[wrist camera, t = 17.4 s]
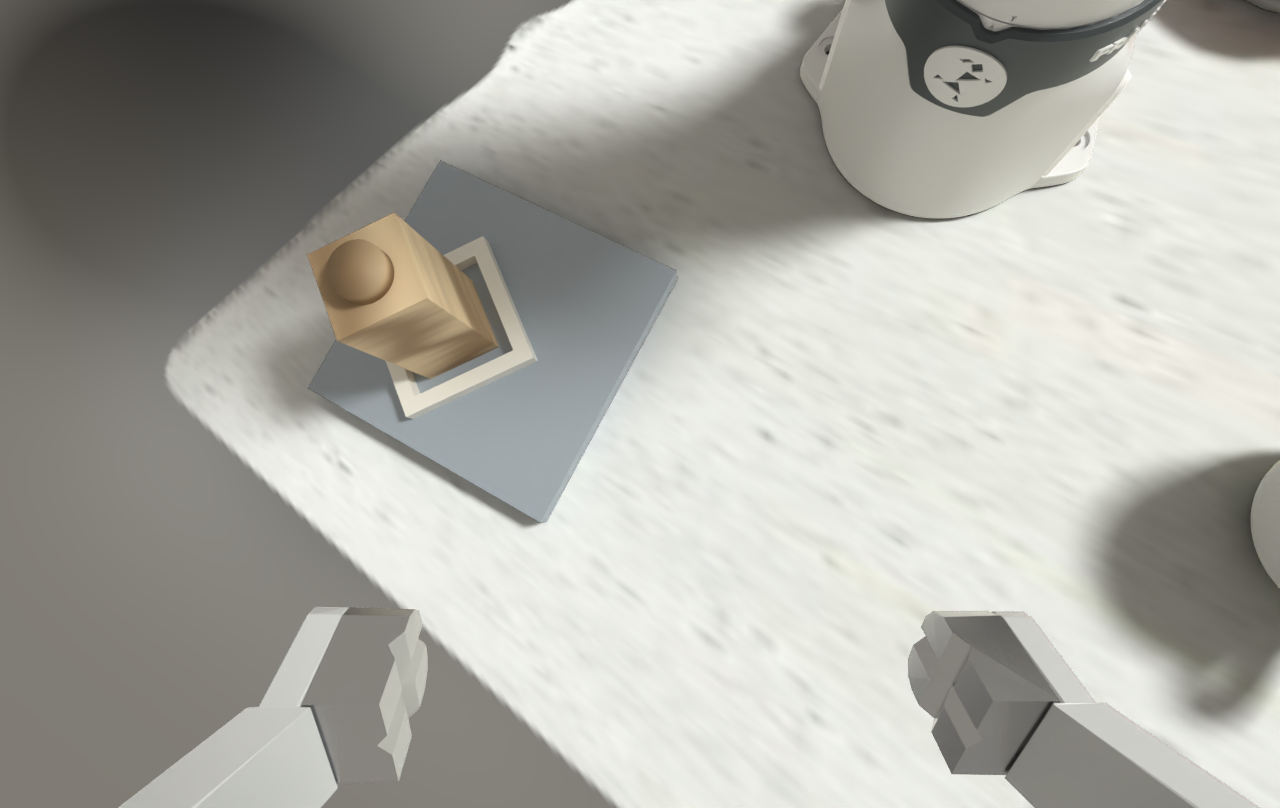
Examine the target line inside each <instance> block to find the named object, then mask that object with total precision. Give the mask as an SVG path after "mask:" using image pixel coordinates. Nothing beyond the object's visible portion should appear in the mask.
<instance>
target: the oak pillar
mask: <svg viewBox="0 0 1280 808" xmlns="http://www.w3.org/2000/svg"><path fill="white" fill-rule="evenodd" d="M307 256H308V258H309V261H310V264H311V267H312V270H313V273H314V276H315V279H316V281H317V284H318V287H319V290H320V293H321V296H322V299H323V301H324V304H325V307H326V310H327V313H328V316H329V319H330V322H331V324H332V327H333V330H334V333H335V336H336V339H337V341H339V342H341V343H343V344H346V345H348V346H351V347H353V348H356V349H358V350H361V351H363V352H366V353H368V354H370V355H373V356H375V357H378V358H380V359H383V360H385V361H388V362H390V363H393V364H395V365H397V366H400V367H402V368H405V369H407V370H410V371H412V372H415V373H417V374H420V375H422V376H424V377H427V378H429V379H432V378H434V377H436V376H439V375H441V374H443V373H445V372H447V371H449V370H451V369H454V368H456V367H458V366H460V365H462V364H464V363H466V362H468V361H471V360H473V359H475V358H477V357H479V356H481V355H483V354H485V353H488V352H490V351H492V350H494V349H496V348H498V347H499V345H498V343H497V340H496V338H495V335H494V333H493V330H492V328H491V325H490V323H489V320H488V318H487V315H486V313H485V310H484V308H483V305H482V303H481V301H480V298H479V296H478V293H477V291H476V288H475V286H474V283H473V281H472V280H471V279H470V278H469V277H468V276H466V275H465V274H464V273H463V272H462V271H461V270H460V269H458V268H457V267H456V266H455V265H454V264H453V263H452V262H450V261H449V260H448V259H447V258H446V257H445V256H443V255H442V254H441V253H440V252H439V251H438V250H437V249H435V248H434V247H433V246H432V245H431V244H430V243H429V242H427V241H426V240H425V239H424V238H423V237H422V236H421V235H419V234H418V233H417V232H416V231H415V230H414V229H413V228H411V227H410V226H409V225H408V224H407V223H406V222H405V221H403V220H402V219H401V218H400V217H399V216H398V215H397V214H395V213H392V214H390V215H388V216H386V217H384V218H382V219H380V220H378V221H376V222H373V223H371V224H369V225H367V226H365V227H363V228H361V229H359V230H357V231H355V232H353V233H351V234H349V235H347V236H345V237H343V238H341V239H339V240H337V241H335V242H333V243H330V244H328V245H326V246H324V247H322V248H320V249H318V250H316V251H314V252H312V253H310V254H308V255H307Z"/></svg>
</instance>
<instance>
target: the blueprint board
mask: <svg viewBox="0 0 1280 808" xmlns="http://www.w3.org/2000/svg"><path fill="white" fill-rule="evenodd" d="M405 222H406V223H407V224H408V225H409V226H410V227H411V228H413V229H414V230H415V231H416V232H417V233H418V234H419V235H421V236H422V237H423V238H424V239H425V240H426V241H427V242H429V243H430V244H431V245H432V246H433V247H434V248H435V249H437V250H438V251H439V252H440V253H441V254H442V255H445V254H447V253H449V252H451V251H453V250H455V249H457V248H459V247H461V246H463V245H465V244H467V243H470V242H472V241H474V240H476V239H478V238H480V237H482V236H484V238H485V239H486V240H487V241H488V242H489V244H490V247H491V249H492V251H493V254H494V256H495V259H496V261H497V263H498V266H499V268H500V271H501V273H502V275H503V278H504V280H505V283H506V285H507V288H508V290H509V292H510V295H511V297H512V300H513V302H514V304H515V307H516V309H517V312H518V314H519V316H520V319H521V321H522V324H523V326H524V329H525V331H526V333H527V336H528V338H529V341H530V343H531V345H532V348H533V350H534V353H535V355H536V357H537V360H538V361H537V362H535V363H533V364H531V365H529V366H526V367H524V368H522V369H520V370H518V371H516V372H514V373H511V374H509V375H507V376H505V377H503V378H501V379H498V380H496V381H494V382H492V383H490V384H488V385H486V386H483V387H481V388H479V389H477V390H475V391H473V392H471V393H468V394H466V395H464V396H462V397H460V398H458V399H455V400H453V401H451V402H449V403H447V404H445V405H443V406H440V407H438V408H436V409H434V410H432V411H430V412H428V413H425V414H423V415H421V416H419V417H417V418H415V419H412V418H408V417H406V416H405V413H404V410H403V408H402V405H401V402H400V399H399V397H398V394H397V391H396V388H395V386H394V383H393V380H392V377H391V375H390V372H389V369H388V366H387V363H386V361H385V360H383V359H380V358H378V357H375V356H373V355H370V354H368V353H366V352H363V351H361V350H358V349H356V348H353V347H351V346H348V345H346V344H343V343H341V342H339V341H337V339H336V341H335V342H334V344H333V346H332V347H331V349H330V351H329V353H328V354H327V356H326V358H325V360H324V361H323V363H322V365H321V366H320V368H319V370H318V372H317V373H316V375H315V377H314V378H313V380H312V382H311V384H310V385H309V387H308V389H310V390H312V391H314V392H315V393H317V394H319V395H321V396H322V397H324V398H326V399H327V400H329V401H331V402H333V403H334V404H336V405H338V406H340V407H341V408H343V409H345V410H346V411H348V412H350V413H352V414H353V415H355V416H357V417H359V418H360V419H362V420H364V421H365V422H367V423H369V424H371V425H372V426H374V427H376V428H378V429H379V430H381V431H383V432H385V433H386V434H388V435H390V436H391V437H393V438H395V439H397V440H398V441H400V442H402V443H404V444H405V445H407V446H409V447H410V448H412V449H414V450H416V451H417V452H419V453H421V454H423V455H424V456H426V457H428V458H429V459H431V460H433V461H435V462H436V463H438V464H440V465H442V466H443V467H445V468H447V469H448V470H450V471H452V472H454V473H455V474H457V475H459V476H461V477H462V478H464V479H466V480H468V481H469V482H471V483H473V484H474V485H476V486H478V487H480V488H481V489H483V490H485V491H487V492H488V493H490V494H492V495H493V496H495V497H497V498H499V499H500V500H502V501H504V502H506V503H507V504H509V505H511V506H512V507H514V508H516V509H518V510H519V511H521V512H523V513H525V514H526V515H528V516H530V517H531V518H533V519H535V520H537V521H538V522H547V520H548V519H549V517H550V515H551V513H552V511H553V509H554V507H555V506H556V504H557V502H558V500H559V498H560V496H561V494H562V493H563V491H564V489H565V487H566V485H567V483H568V481H569V480H570V478H571V476H572V474H573V472H574V470H575V468H576V467H577V465H578V463H579V461H580V459H581V457H582V455H583V454H584V452H585V450H586V448H587V446H588V444H589V443H590V441H591V439H592V437H593V435H594V433H595V431H596V430H597V428H598V426H599V424H600V422H601V420H602V418H603V417H604V415H605V413H606V411H607V409H608V407H609V405H610V404H611V402H612V400H613V398H614V396H615V394H616V392H617V391H618V389H619V387H620V385H621V383H622V381H623V379H624V378H625V376H626V374H627V372H628V370H629V368H630V366H631V365H632V363H633V361H634V359H635V357H636V355H637V354H638V352H639V350H640V348H641V346H642V344H643V342H644V341H645V339H646V337H647V335H648V333H649V331H650V329H651V328H652V326H653V324H654V322H655V320H656V318H657V316H658V315H659V313H660V311H661V309H662V307H663V305H664V303H665V302H666V300H667V298H668V296H669V294H670V292H671V290H672V289H673V287H674V285H675V283H676V281H677V279H678V277H677V271H676V270H674V269H672V268H670V267H668V266H666V265H664V264H662V263H659V262H657V261H655V260H653V259H651V258H649V257H647V256H644V255H642V254H640V253H638V252H636V251H634V250H632V249H629V248H627V247H625V246H623V245H621V244H619V243H617V242H614V241H612V240H610V239H608V238H606V237H604V236H602V235H599V234H597V233H595V232H593V231H591V230H589V229H587V228H584V227H582V226H580V225H578V224H576V223H574V222H572V221H570V220H567V219H565V218H563V217H561V216H559V215H557V214H555V213H552V212H550V211H548V210H546V209H544V208H542V207H540V206H537V205H535V204H533V203H531V202H529V201H527V200H525V199H522V198H520V197H518V196H516V195H514V194H512V193H510V192H507V191H505V190H503V189H501V188H499V187H497V186H495V185H492V184H490V183H488V182H486V181H484V180H482V179H480V178H477V177H475V176H473V175H471V174H469V173H467V172H465V171H462V170H460V169H458V168H456V167H454V166H452V165H450V164H447V163H445V162H443V161H441V160H440V162H439V163H438V165H437V167H436V168H435V170H434V172H433V174H432V175H431V177H430V179H429V181H428V182H427V184H426V186H425V187H424V189H423V191H422V193H421V194H420V196H419V198H418V199H417V201H416V203H415V205H414V206H413V208H412V210H411V211H410V213H409V215H408V217H407V218H406V220H405ZM461 271H462V272H463V273H464V274H465V275H466V276H468V277H469V278H470V279H471V280H472V281H473V283H474V286H475V288H476V291H477V293H478V296H479V298H480V301H481V303H482V305H483V308H484V310H485V313H486V315H487V318H488V320H489V323H490V325H491V328H492V330H493V333H494V335H495V338H496V340H497V343H498V345H499V347H498V348H496V349H494V350H492V351H490V352H488V353H485V354H483V355H481V356H479V357H477V358H475V359H473V360H471V361H468V362H466V363H464V364H462V365H460V366H458V367H456V368H454V369H451V370H449V371H447V372H445V373H443V374H441V375H439V376H436V377H434V378H432V379H429V378H427V377H424V376H422V375H420V374H417V373H415V372H412V373H413V375H414V378H415V381H416V383H417V386H418V389H419V392H420V394H421V393H423V392H425V391H427V390H429V389H431V388H434V387H436V386H438V385H440V384H442V383H444V382H446V381H449V380H451V379H453V378H455V377H457V376H459V375H461V374H464V373H466V372H468V371H470V370H472V369H474V368H476V367H479V366H481V365H483V364H485V363H487V362H489V361H491V360H494V359H496V358H498V357H500V356H502V355H504V354H506V353H508V352H511V351H513V348H512V346H511V343H510V341H509V338H508V336H507V334H506V331H505V329H504V326H503V324H502V321H501V319H500V316H499V314H498V311H497V309H496V307H495V304H494V302H493V299H492V297H491V294H490V292H489V289H488V287H487V284H486V282H485V280H484V277H483V275H482V272H481V270H480V267H479V265H478V263H476V264H474V265H472V266H470V267H468V268H466V269H464V270H461Z"/></svg>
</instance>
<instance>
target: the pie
mask: <svg viewBox="0 0 1280 808" xmlns="http://www.w3.org/2000/svg"><path fill="white" fill-rule="evenodd" d="M1245 1H1247V2H1249V3H1251V4H1253V5H1255V6H1257V7H1259V8H1261V9H1264V10H1268V11H1272V12H1277V13H1280V0H1245Z"/></svg>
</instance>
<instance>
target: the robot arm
mask: <svg viewBox="0 0 1280 808" xmlns="http://www.w3.org/2000/svg"><path fill="white" fill-rule="evenodd" d="M1165 2H1166V0H846V1H845V4H844V7H843V9H842V10H841V11H840V13H839V14H838V15H837V16H836V17H835V19H834V20H833V21H832V22H831V23H830V25H829V26H828V27H827V28H826V30H825V31H824V32H823V33H822V34H821V36H820V37H819V38H818V39H817V40H816V42H815V43H814V44H813V45H812V47H811V48H810V49H809V50H808V51H807V53H806V54H805V56H804V59H803V61H802V64H801V67H800V76H801V79H802V82H803V84H804V85H805V87H806V89H807V90H808V92H809V93H810V95H811V96H812V98H813V99H814V100H815V102H816V103H817V104H818V107H819V110H820V114H821V120H822V127H823V133H824V138H825V142H826V145H827V148H828V150H829V153H830V155H831V157H832V159H833V161H834V163H835V165H836V166H837V168H838V169H839V171H840V172H841V173H842V175H843V176H844V177H845V178H846V179H847V181H848V182H849V183H850V184H851V185H852V186H853V187H855V188H856V189H857V190H858V191H859V192H860V193H862V194H863V195H865V196H866V197H867V198H869V199H871V200H872V201H874V202H876V203H877V204H879V205H881V206H883V207H886V208H888V209H891V210H893V211H896V212H899V213H902V214H906V215H911V216H916V217H922V218H954V217H961V216H967V215H971V214H975V213H978V212H981V211H984V210H987V209H989V208H992V207H994V206H996V205H998V204H1000V203H1002V202H1004V201H1005V200H1007V199H1009V198H1011V197H1013V196H1014V195H1016V194H1018V193H1020V192H1022V191H1025V190H1027V189H1030V188H1037V187H1045V186H1052V185H1058V184H1063V183H1067V182H1070V181H1072V180H1074V179H1076V178H1077V177H1078V176H1079V175H1080V174H1081V173H1082V172H1083V171H1084V169H1085V168H1086V167H1087V166H1088V164H1089V162H1090V160H1091V156H1092V152H1093V148H1094V143H1095V139H1096V135H1097V130H1098V126H1099V122H1100V118H1101V115H1102V114H1103V113H1104V111H1105V110H1106V109H1107V108H1108V107H1109V106H1110V105H1111V103H1112V102H1113V101H1114V100H1115V99H1116V98H1117V97H1118V95H1119V94H1120V93H1121V92H1122V91H1123V89H1124V88H1125V87H1126V85H1127V84H1128V82H1129V80H1130V78H1131V73H1130V72H1129V70H1128V67H1129V65H1130V62H1131V59H1132V55H1133V50H1134V44H1135V36H1136V34H1138V33H1139V32H1140V31H1141V29H1142V28H1143V27H1145V26H1146V24H1147V23H1148V22H1149V21H1150V20H1151V19H1152V18H1153V16H1154V15H1155V14H1156V13H1157V12H1158V11H1159V9H1160V8H1161V7H1162V5H1163V4H1164V3H1165ZM826 52H829V55H827V54H826ZM1073 146H1074V147H1073ZM421 628H422V621H421V617H420V612H419V610H415V609H383V608H351V607H350V608H342V607H315V608H314V609H313V610H312V611H311V612H310V613H309V614H308V615H307V616H306V617H305V619H304V621H303V623H302V625H301V627H300V629H299V631H298V633H297V634H296V636H295V638H294V640H293V642H292V644H291V646H290V647H289V649H288V651H287V653H286V655H285V657H284V659H283V661H282V663H281V664H280V667H279V668H278V670H277V672H276V674H275V676H274V678H273V680H272V681H271V683H270V685H269V687H268V689H267V691H266V693H265V695H264V696H263V698H262V700H261V702H260V704H259V706H258V707H247V708H245V709H244V710H243V711H242V712H240V713H239V714H238V715H237V716H235V717H234V718H233V719H231V720H230V721H229V722H228V723H226V724H225V725H224V726H222V727H221V728H220V729H219V730H217V731H216V732H215V733H213V734H212V735H211V736H210V737H208V738H207V739H206V740H204V741H203V742H202V743H201V744H199V745H198V746H197V747H195V748H194V749H193V750H192V751H190V752H189V753H188V754H187V755H185V756H184V757H183V758H181V759H180V760H179V761H178V762H176V763H175V764H174V765H172V766H171V767H170V768H168V769H167V770H166V771H165V772H164V773H162V774H161V775H160V776H158V777H157V778H156V779H154V780H153V781H152V782H151V783H149V784H148V785H147V786H146V787H144V788H143V789H142V790H140V791H139V792H138V793H136V794H135V795H134V796H133V797H131V798H130V799H129V800H127V801H126V802H125V803H124V804H122V805H121V806H120V807H118V808H321V807H322V805H323V804H324V803H325V802H326V801H327V800H328V799H329V797H331V795H332V794H333V793H334V792H335V791H336V790H337V787H338V786H337V784H354V783H376V782H398V781H399V778H400V775H401V772H402V768H403V765H404V761H405V758H406V754H407V751H408V747H409V744H410V741H411V737H412V735H411V730H410V725H409V720H408V719H409V718H410V717H411V716H412V715H413V714H414V713H415V712H416V711H417V710H418V709H419V708H420V705H421V701H422V697H423V694H424V690H425V684H426V676H427V668H428V667H427V650H426V644H425V643H423V642H422V641H421V640H420V639H418V637H419V634H420V631H421ZM921 628H922V630H923V631H924V633H925V635H926V636H925V637H924V638H923V639H921V640H920V641H918V642H917V643H916V644H914V645H913V647H912V650H911V652H910V655H909V658H908V676H909V680H910V684H911V688H912V691H913V693H914V695H915V698H916V700H917V702H918V704H919V705H920V706H921V707H922V708H923V709H924V710H925V711H927V712H928V713H929V714H930V715H931V716H932V717H934V723H933V727H932V734H933V736H934V738H935V740H936V742H937V744H938V746H939V749H940V751H941V753H942V755H943V757H944V759H945V761H946V763H947V765H948V767H949V769H950V771H951V774H978V775H1006V777H1005V779H1006V780H1007V781H1008V782H1009V783H1010V784H1011V785H1012V786H1013V787H1014V788H1015V789H1016V790H1017V791H1018V792H1019V793H1020V794H1021V795H1022V796H1024V797H1025V798H1026V799H1027V800H1028V801H1029V802H1030V803H1031V804H1032V805H1033V806H1034V807H1035V808H1260V807H1259V806H1257V805H1256V804H1254V803H1253V802H1251V801H1250V800H1248V799H1247V798H1245V797H1244V796H1242V795H1241V794H1239V793H1238V792H1236V791H1235V790H1233V789H1232V788H1231V787H1229V786H1228V785H1226V784H1225V783H1223V782H1222V781H1220V780H1219V779H1217V778H1216V777H1214V776H1213V775H1211V774H1210V773H1208V772H1207V771H1205V770H1204V769H1202V768H1201V767H1200V766H1198V765H1197V764H1195V763H1194V762H1192V761H1191V760H1189V759H1188V758H1186V757H1185V756H1183V755H1182V754H1180V753H1179V752H1177V751H1176V750H1174V749H1173V748H1172V747H1170V746H1169V745H1167V744H1166V743H1164V742H1163V741H1161V740H1160V739H1158V738H1157V737H1155V736H1154V735H1152V734H1151V733H1149V732H1148V731H1146V730H1145V729H1143V728H1142V727H1141V726H1139V725H1138V724H1136V723H1135V722H1133V721H1132V720H1130V719H1129V718H1127V717H1126V716H1124V715H1123V714H1121V713H1120V712H1118V711H1117V710H1115V709H1114V708H1113V707H1111V706H1110V705H1108V704H1107V703H1096V702H1095V700H1094V699H1093V698H1092V696H1091V695H1090V694H1089V692H1088V691H1087V690H1086V688H1085V687H1084V686H1083V684H1082V683H1081V682H1080V680H1079V679H1078V678H1077V676H1076V675H1075V674H1074V672H1073V671H1072V670H1071V668H1070V667H1069V666H1068V664H1067V663H1066V662H1065V660H1064V659H1063V658H1062V656H1061V655H1060V654H1059V652H1058V651H1057V650H1056V648H1055V647H1054V645H1053V644H1052V643H1051V641H1050V640H1049V639H1048V637H1047V636H1046V635H1045V633H1044V632H1043V631H1042V629H1041V628H1040V627H1039V625H1038V624H1037V623H1036V621H1035V620H1034V619H1033V618H1032V617H1031V616H1029V615H1028V614H1027V613H1025V612H989V611H933V612H931V613H930V614H928V615H927V616H926V617H925V619H924V622H923V624H922V626H921Z"/></svg>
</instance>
